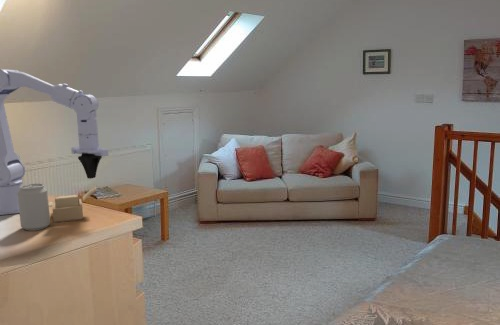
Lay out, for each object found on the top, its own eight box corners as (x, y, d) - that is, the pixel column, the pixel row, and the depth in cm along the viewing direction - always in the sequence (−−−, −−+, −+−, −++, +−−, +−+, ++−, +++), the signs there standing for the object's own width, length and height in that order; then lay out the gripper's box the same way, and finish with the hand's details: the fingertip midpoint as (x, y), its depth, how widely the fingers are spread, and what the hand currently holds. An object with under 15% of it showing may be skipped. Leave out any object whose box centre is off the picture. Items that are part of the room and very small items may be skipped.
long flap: (54, 198, 131) (54, 199, 131) (77, 196, 133) (77, 197, 133) (56, 206, 135) (56, 207, 135) (78, 204, 137) (78, 205, 137)
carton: (40, 211, 148) (39, 198, 147) (81, 207, 152) (80, 194, 152) (38, 224, 134) (36, 210, 133) (83, 219, 138) (82, 205, 138)
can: (39, 232, 127) (35, 188, 125) (15, 230, 129) (10, 187, 127) (56, 223, 134) (52, 182, 133) (32, 222, 136) (28, 182, 134)
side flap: (95, 188, 143) (96, 189, 143) (94, 185, 147) (95, 186, 147) (83, 200, 142) (83, 201, 142) (82, 196, 146) (83, 197, 147)
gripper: (61, 134, 145) (65, 178, 147) (93, 136, 137) (97, 182, 139) (80, 132, 151) (83, 174, 153) (112, 134, 143) (115, 178, 145)
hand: (91, 177), depth 147 cm, fingers closed
